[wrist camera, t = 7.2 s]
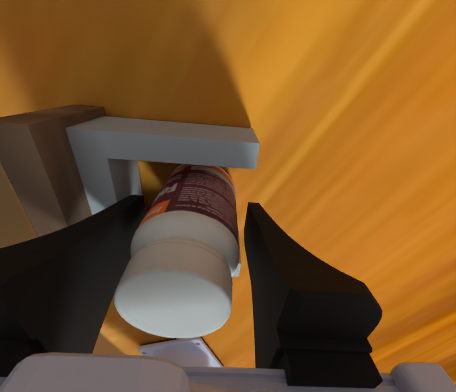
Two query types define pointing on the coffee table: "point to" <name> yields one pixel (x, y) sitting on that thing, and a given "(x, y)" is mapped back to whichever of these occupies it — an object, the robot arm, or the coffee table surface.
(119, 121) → the cradle
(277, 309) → the robot arm
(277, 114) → the coffee table surface
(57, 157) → the wall
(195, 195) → the pill bottle
